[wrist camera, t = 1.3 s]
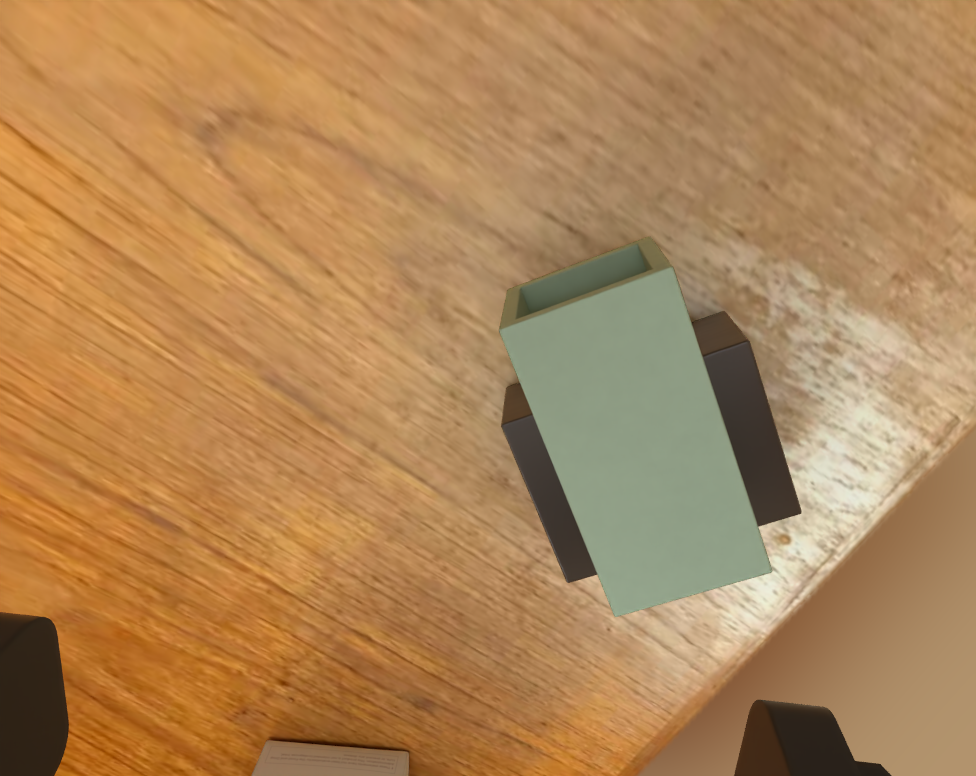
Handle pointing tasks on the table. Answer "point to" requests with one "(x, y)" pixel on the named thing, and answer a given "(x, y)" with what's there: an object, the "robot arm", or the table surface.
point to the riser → (743, 421)
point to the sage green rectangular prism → (633, 427)
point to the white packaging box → (328, 761)
